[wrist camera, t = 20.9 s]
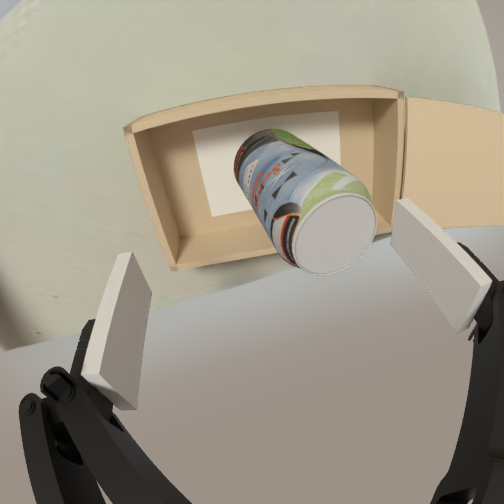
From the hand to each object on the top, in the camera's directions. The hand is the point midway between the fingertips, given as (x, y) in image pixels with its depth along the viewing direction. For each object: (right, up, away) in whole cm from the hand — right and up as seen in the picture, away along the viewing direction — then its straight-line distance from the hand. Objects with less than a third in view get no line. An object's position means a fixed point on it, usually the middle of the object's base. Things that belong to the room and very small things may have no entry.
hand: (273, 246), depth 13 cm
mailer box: (+1, +7, +10) cm, 13 cm away
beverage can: (+1, +7, +10) cm, 12 cm away
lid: (+21, +7, +5) cm, 22 cm away
